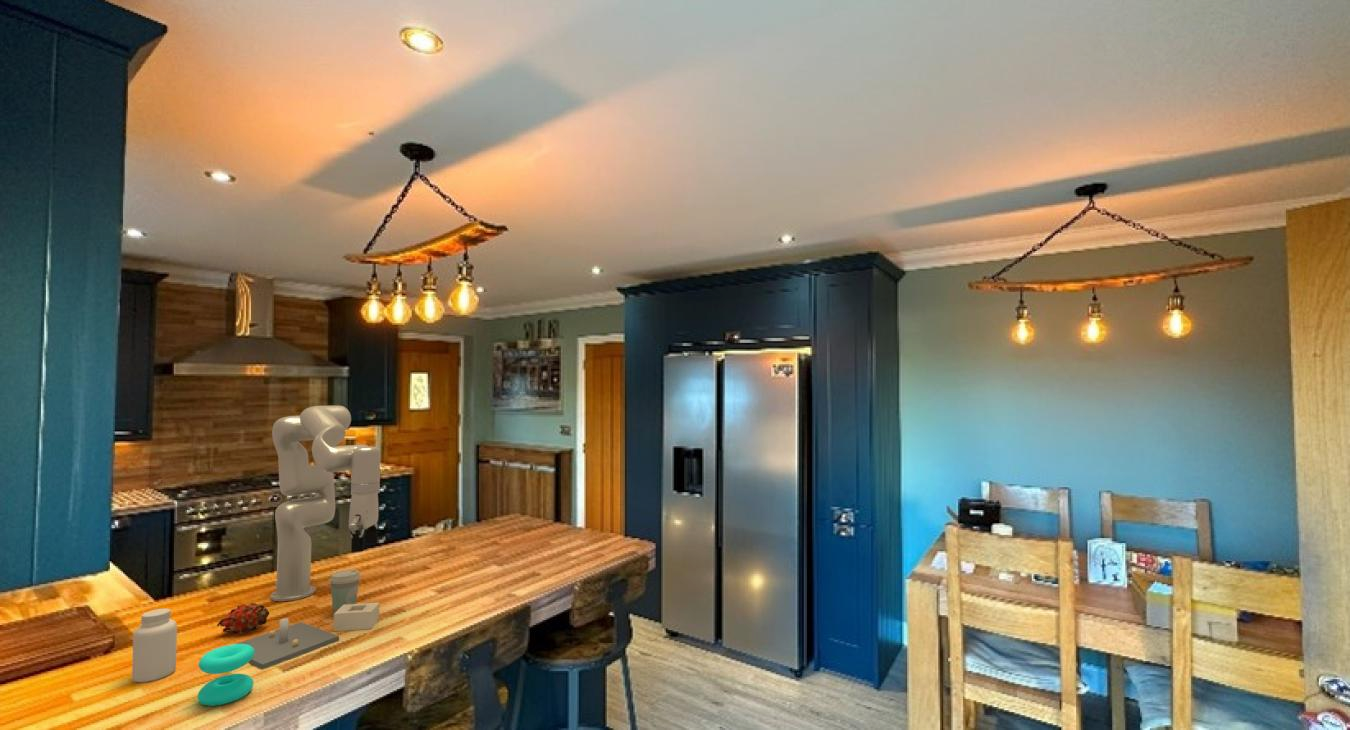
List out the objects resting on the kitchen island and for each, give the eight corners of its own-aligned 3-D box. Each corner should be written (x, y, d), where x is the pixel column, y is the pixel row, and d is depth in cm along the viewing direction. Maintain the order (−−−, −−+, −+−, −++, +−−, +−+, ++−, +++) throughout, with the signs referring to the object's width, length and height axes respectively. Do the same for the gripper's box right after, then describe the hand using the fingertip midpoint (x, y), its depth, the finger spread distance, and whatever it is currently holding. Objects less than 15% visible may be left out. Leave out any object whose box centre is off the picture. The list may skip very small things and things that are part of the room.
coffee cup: (345, 618, 174) (346, 578, 175) (321, 616, 176) (322, 576, 177) (366, 608, 183) (367, 569, 183) (342, 605, 185) (343, 567, 185)
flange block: (333, 631, 165) (334, 613, 166) (342, 621, 172) (343, 604, 172) (371, 628, 167) (371, 611, 167) (378, 619, 174) (379, 602, 174)
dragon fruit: (272, 633, 167) (220, 649, 161) (271, 608, 173) (221, 623, 167) (268, 616, 163) (214, 631, 157) (267, 591, 169) (215, 605, 162)
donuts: (259, 638, 138) (247, 656, 128) (258, 681, 137) (246, 702, 128) (207, 646, 134) (191, 665, 125) (206, 690, 133) (190, 712, 124)
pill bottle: (149, 667, 144) (152, 606, 144) (184, 666, 144) (186, 605, 145) (122, 684, 136) (124, 619, 136) (158, 682, 136) (161, 618, 137)
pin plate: (225, 651, 152) (225, 624, 153) (300, 626, 169) (301, 601, 169) (262, 669, 143) (263, 640, 143) (339, 640, 160) (339, 614, 160)
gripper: (364, 484, 180) (363, 540, 179) (338, 494, 163) (337, 555, 162) (389, 483, 181) (388, 539, 180) (366, 493, 163) (365, 554, 163)
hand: (364, 547), depth 171 cm, fingers open, 9 cm apart
